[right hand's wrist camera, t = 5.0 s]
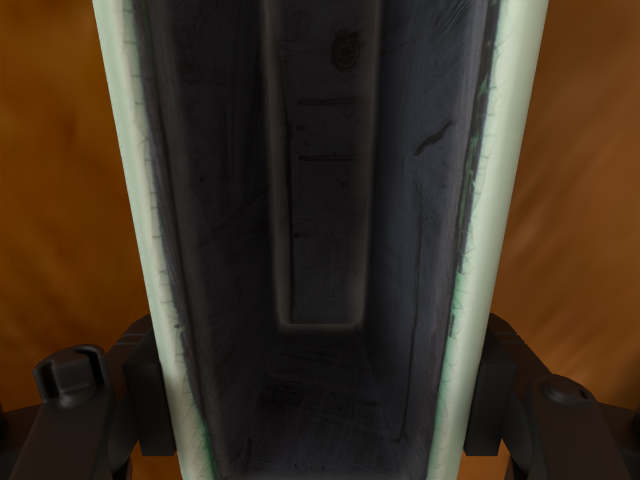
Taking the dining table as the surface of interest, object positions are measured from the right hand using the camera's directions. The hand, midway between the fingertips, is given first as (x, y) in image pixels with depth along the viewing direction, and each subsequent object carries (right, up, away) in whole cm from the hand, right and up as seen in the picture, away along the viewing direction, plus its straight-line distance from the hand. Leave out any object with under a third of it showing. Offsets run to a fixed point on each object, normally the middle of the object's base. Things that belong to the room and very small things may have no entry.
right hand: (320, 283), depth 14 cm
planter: (0, +9, -3) cm, 10 cm away
